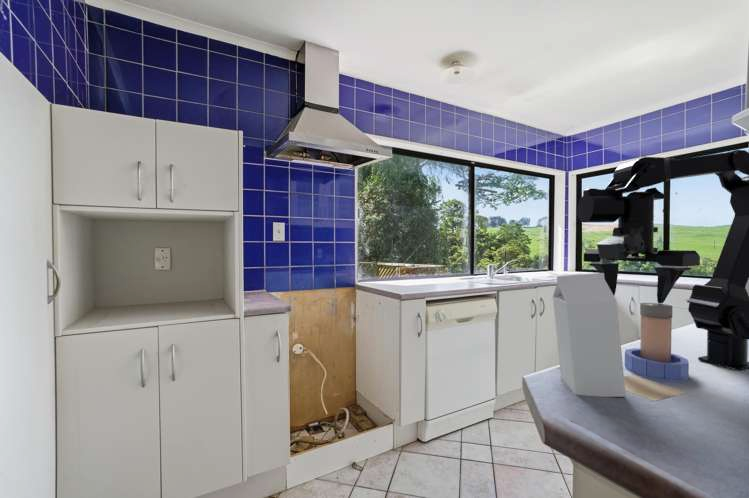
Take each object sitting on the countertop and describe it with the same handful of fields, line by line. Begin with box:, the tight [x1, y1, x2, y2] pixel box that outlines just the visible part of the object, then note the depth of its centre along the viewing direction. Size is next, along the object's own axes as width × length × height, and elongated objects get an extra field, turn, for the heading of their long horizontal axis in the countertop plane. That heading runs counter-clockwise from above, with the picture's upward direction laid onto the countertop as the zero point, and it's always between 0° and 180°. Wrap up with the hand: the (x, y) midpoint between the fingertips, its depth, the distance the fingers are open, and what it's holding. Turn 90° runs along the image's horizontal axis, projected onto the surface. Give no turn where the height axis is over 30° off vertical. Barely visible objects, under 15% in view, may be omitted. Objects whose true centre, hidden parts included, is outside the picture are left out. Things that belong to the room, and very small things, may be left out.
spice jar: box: [639, 302, 673, 363], centre depth 63 cm, size 5×5×12 cm
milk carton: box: [552, 272, 627, 398], centre depth 57 cm, size 7×7×19 cm
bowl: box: [624, 348, 690, 383], centre depth 63 cm, size 9×9×4 cm
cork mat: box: [624, 374, 686, 402], centre depth 57 cm, size 8×8×1 cm
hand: (634, 299), depth 69 cm, fingers open, 9 cm apart
